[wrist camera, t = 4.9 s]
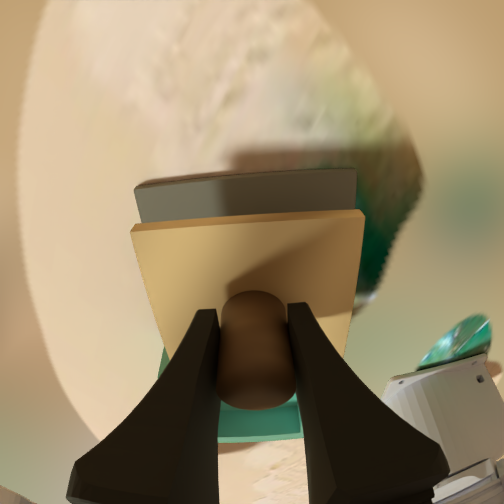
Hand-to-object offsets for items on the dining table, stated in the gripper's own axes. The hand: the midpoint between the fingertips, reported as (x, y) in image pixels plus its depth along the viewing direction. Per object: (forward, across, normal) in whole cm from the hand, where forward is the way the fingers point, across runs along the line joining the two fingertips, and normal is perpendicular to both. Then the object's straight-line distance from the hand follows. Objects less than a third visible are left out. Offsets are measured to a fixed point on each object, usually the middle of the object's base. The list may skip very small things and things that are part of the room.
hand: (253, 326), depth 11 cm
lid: (+1, 0, 0) cm, 1 cm away
